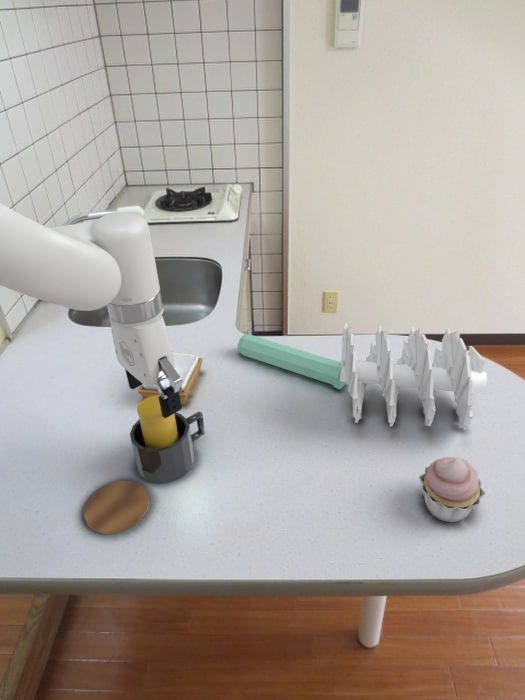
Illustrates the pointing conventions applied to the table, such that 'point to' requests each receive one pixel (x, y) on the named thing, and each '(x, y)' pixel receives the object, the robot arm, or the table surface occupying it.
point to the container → (292, 359)
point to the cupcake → (451, 488)
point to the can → (156, 424)
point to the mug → (167, 451)
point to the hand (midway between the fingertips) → (155, 398)
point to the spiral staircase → (414, 372)
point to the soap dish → (187, 371)
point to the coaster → (116, 507)
